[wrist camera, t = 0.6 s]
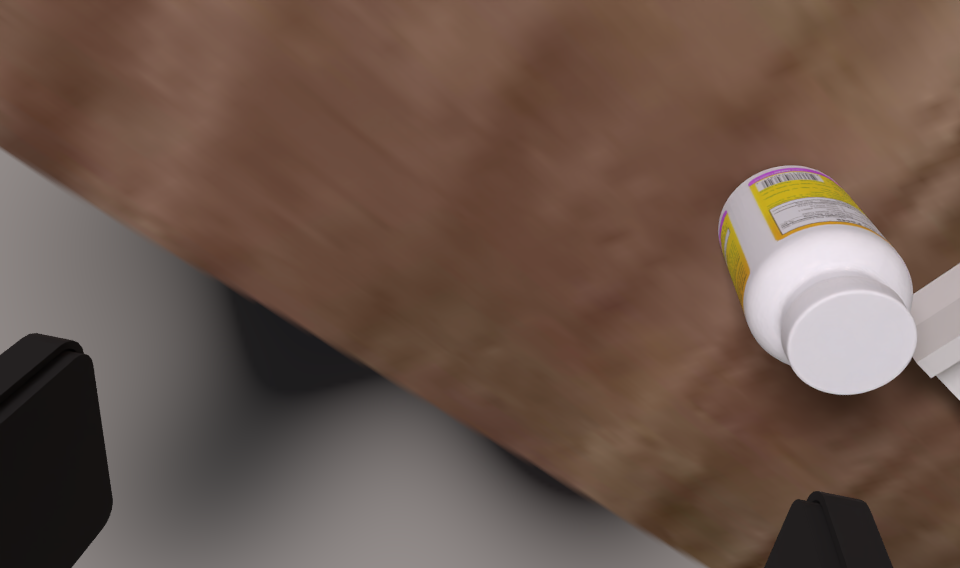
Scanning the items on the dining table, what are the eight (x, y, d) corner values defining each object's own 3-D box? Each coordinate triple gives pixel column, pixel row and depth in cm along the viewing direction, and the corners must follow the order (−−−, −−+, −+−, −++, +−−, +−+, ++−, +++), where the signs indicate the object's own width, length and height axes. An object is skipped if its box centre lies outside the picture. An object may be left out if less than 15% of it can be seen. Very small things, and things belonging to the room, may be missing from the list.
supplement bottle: (780, 300, 43) (844, 445, 31) (690, 230, 41) (721, 354, 30) (877, 212, 40) (987, 338, 28) (782, 134, 39) (856, 232, 27)
